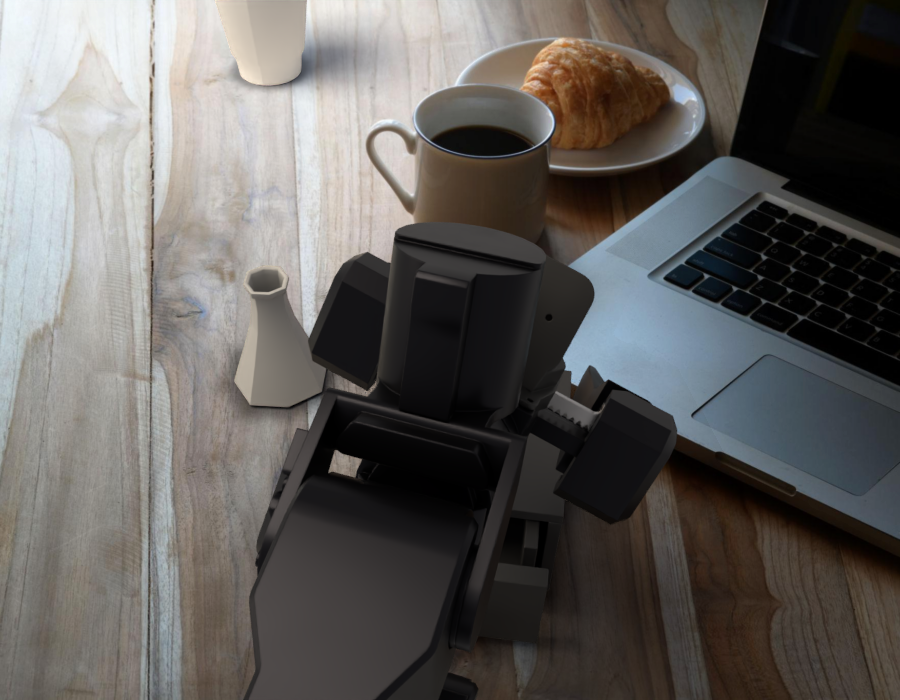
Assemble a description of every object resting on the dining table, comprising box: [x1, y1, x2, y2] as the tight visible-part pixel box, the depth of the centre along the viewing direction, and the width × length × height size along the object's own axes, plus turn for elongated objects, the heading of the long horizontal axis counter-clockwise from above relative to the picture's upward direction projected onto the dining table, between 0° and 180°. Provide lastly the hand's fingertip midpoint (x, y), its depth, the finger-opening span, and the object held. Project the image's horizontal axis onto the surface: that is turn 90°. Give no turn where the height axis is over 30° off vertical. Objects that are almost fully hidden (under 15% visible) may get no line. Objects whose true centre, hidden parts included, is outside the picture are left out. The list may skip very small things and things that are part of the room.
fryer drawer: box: [478, 517, 549, 644], centre depth 58 cm, size 12×10×7 cm
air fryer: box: [510, 369, 572, 592], centre depth 61 cm, size 12×12×9 cm
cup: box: [214, 0, 308, 87], centre depth 99 cm, size 12×12×16 cm
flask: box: [233, 264, 327, 408], centre depth 69 cm, size 7×7×10 cm
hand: (519, 335), depth 55 cm, fingers open, 9 cm apart
